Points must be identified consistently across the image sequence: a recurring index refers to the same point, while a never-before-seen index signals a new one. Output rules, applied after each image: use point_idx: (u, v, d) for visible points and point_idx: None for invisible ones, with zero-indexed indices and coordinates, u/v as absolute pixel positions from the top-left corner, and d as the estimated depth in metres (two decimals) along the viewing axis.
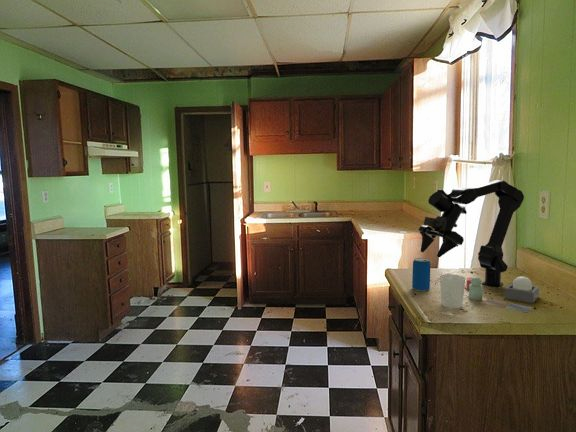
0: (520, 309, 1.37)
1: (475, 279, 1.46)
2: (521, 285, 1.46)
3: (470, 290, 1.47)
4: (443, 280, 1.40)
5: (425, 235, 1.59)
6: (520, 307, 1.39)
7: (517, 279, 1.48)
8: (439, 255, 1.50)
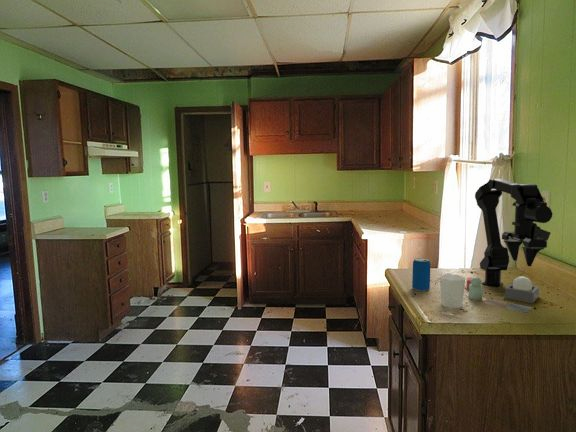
0: (520, 309, 1.37)
1: (475, 279, 1.46)
2: (521, 285, 1.46)
3: (470, 290, 1.47)
4: (443, 280, 1.40)
5: None
6: (520, 307, 1.39)
7: (517, 279, 1.48)
8: None
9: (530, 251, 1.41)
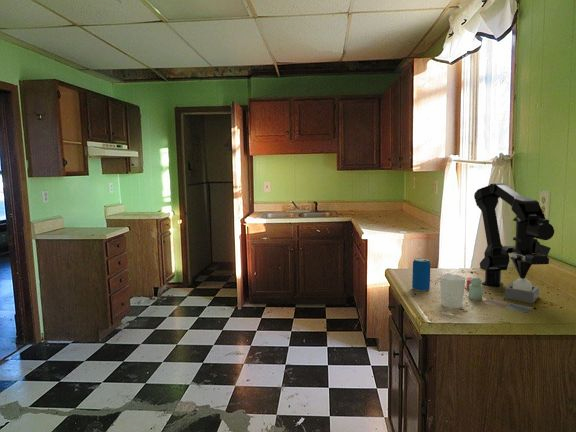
0: (520, 309, 1.37)
1: (475, 279, 1.46)
2: (521, 287, 1.46)
3: (470, 290, 1.47)
4: (443, 280, 1.40)
5: None
6: (520, 307, 1.39)
7: (517, 281, 1.48)
8: None
9: (524, 264, 1.46)
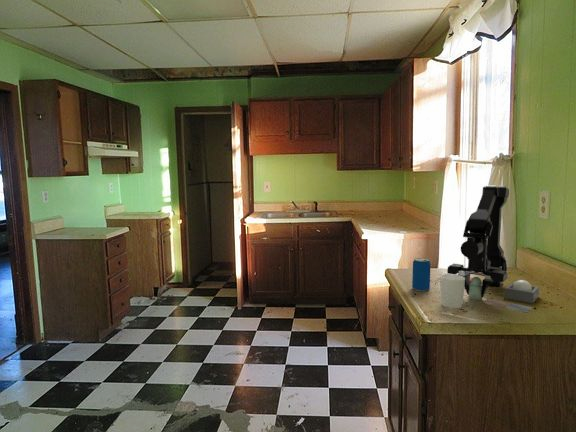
0: (520, 309, 1.37)
1: (475, 279, 1.46)
2: (521, 289, 1.46)
3: (470, 290, 1.47)
4: (443, 280, 1.40)
5: None
6: (520, 307, 1.39)
7: (516, 283, 1.48)
8: None
9: None
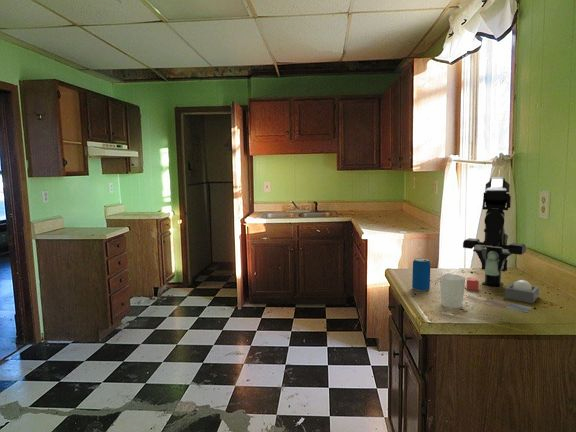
0: (520, 309, 1.37)
1: (492, 253, 1.41)
2: (521, 289, 1.46)
3: (486, 264, 1.42)
4: (443, 280, 1.40)
5: None
6: (520, 307, 1.39)
7: (516, 283, 1.48)
8: None
9: None
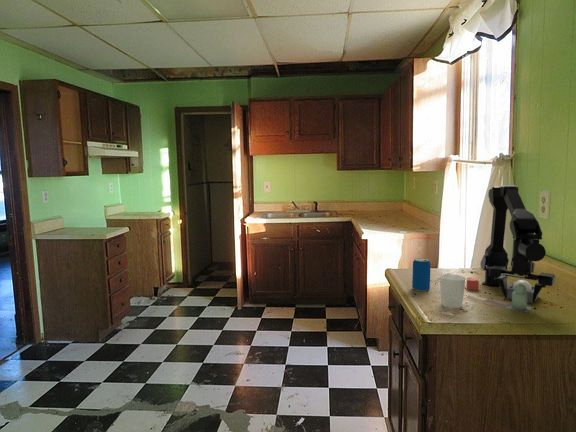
0: None
1: (519, 286, 1.37)
2: None
3: (514, 298, 1.38)
4: (443, 280, 1.40)
5: None
6: None
7: (516, 283, 1.48)
8: None
9: None
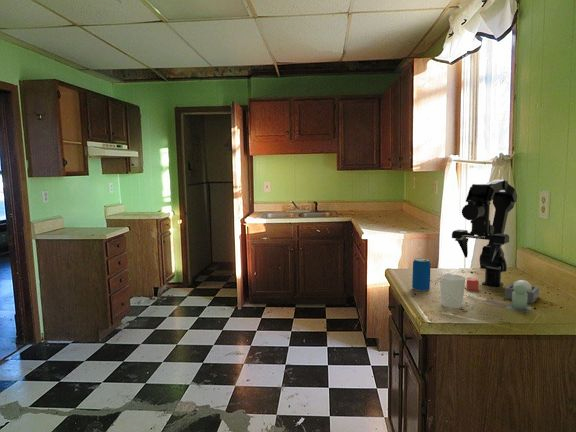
0: None
1: (519, 286, 1.37)
2: None
3: (514, 298, 1.38)
4: (443, 280, 1.40)
5: None
6: None
7: (516, 283, 1.48)
8: None
9: None
